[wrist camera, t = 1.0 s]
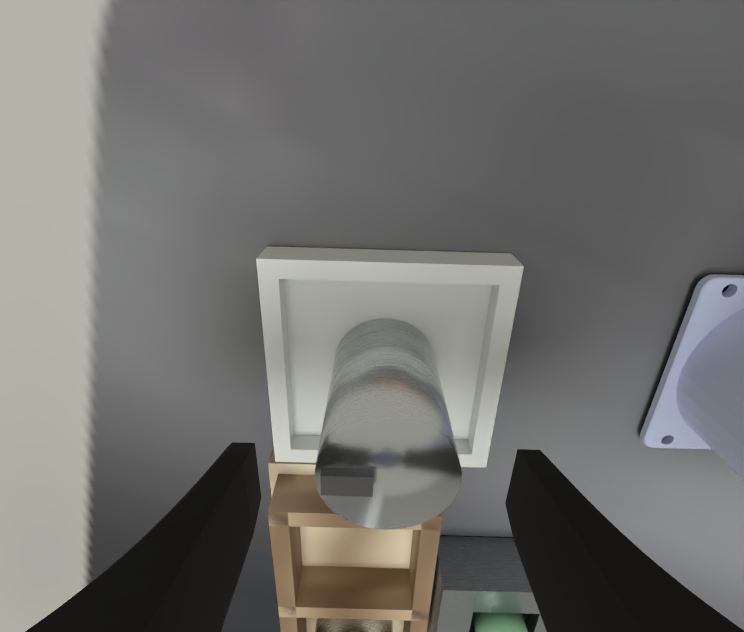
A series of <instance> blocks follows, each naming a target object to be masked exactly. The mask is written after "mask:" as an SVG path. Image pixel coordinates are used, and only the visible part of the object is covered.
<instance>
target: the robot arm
mask: <svg viewBox="0 0 744 632" xmlns="http://www.w3.org/2000/svg"><path fill="white" fill-rule="evenodd" d="M727 285H729V287H728V289H727V290H726V291H725V292H723V293H722V290H723V289H724V287H726V286H727ZM665 436H666V437H665ZM663 437H664V438H663ZM640 439H641V441H642V442H643V443H644V444H645V445H646V446H647V447H651V448H681V449H712V450H713V451H714V452H715V453H716V454H717V455H718V456H719V457H720V458H722V459H723V460H724V461H725V462H726V463H727V464H728V465H729V466H730V467H731V468H732V469H733V470H734V471H735V472H736V473H737V474H738V475H739V476H740V477H741V478H742V479H743V480H744V275H720V274H713V275H708V276H706V277H704V278H702V279H701V280H700V281H699V282H698V284H697V285H696V287H695V290H694V293H693V295H692V298H691V301H690V303H689V306H688V308H687V311H686V314H685V316H684V319H683V322H682V324H681V327H680V330H679V332H678V335H677V338H676V340H675V343H674V346H673V348H672V351H671V354H670V356H669V359H668V361H667V364H666V367H665V369H664V372H663V375H662V377H661V380H660V383H659V385H658V388H657V391H656V393H655V396H654V399H653V401H652V404H651V407H650V409H649V412H648V414H647V417H646V420H645V422H644V425H643V428H642V430H641V433H640ZM260 500H261V492H260V484H259V475H258V467H257V458H256V450H255V443H231V444H230V445H229V446H228V447H227V448H226V450H225V451H224V452H223V453H222V454H221V455H220V457H219V458H218V459H217V460H216V461H215V462H214V464H213V465H212V466H211V467H210V468H209V469H208V470H207V472H206V473H205V474H204V475H203V476H202V477H201V478H200V480H199V481H198V482H197V483H196V484H195V485H194V486H193V487H192V488H191V489H190V490H189V491H188V493H187V494H186V495H185V496H184V497H183V498H182V499H181V500H180V501H179V502H178V503H177V504H176V505H175V506H174V507H173V508H172V510H171V511H170V512H169V513H167V514H166V515H165V516H164V517H163V518H162V519H161V520H160V521H159V522H158V523H157V524H156V525H155V526H154V527H153V528H152V529H151V530H150V531H149V532H148V533H147V534H146V535H145V536H144V537H143V538H142V539H141V540H140V541H139V542H138V543H136V544H135V545H134V546H133V547H132V548H131V549H130V550H129V551H128V552H127V553H125V554H124V555H123V556H122V557H121V558H120V559H119V560H117V561H116V562H115V563H114V564H113V565H112V566H110V567H109V568H108V569H107V570H106V571H105V572H103V573H102V574H101V575H100V576H98V577H97V578H96V579H95V580H93V581H92V582H91V583H90V584H88V585H87V586H86V587H85V588H83V589H82V590H81V591H80V592H78V593H77V594H76V595H75V596H74V597H72V598H71V599H70V600H68V601H67V602H66V603H64V604H63V605H62V606H60V607H59V608H58V609H56V610H55V611H54V612H52V613H51V614H50V615H48V616H47V617H45V618H44V619H43V620H41V621H40V622H38V623H37V624H36V625H34V626H33V627H31V628H30V629H28V630H27V631H26V632H221V630H222V626H223V623H224V620H225V617H226V614H227V611H228V608H229V605H230V602H231V599H232V596H233V594H234V591H235V588H236V585H237V582H238V579H239V576H240V573H241V570H242V567H243V564H244V561H245V558H246V555H247V552H248V549H249V546H250V543H251V540H252V537H253V533H254V528H255V524H256V519H257V515H258V510H259V505H260ZM506 508H507V512H508V517H509V521H510V525H511V530H512V534H513V538H514V542H515V545H516V547H517V550H518V553H519V556H520V559H521V562H522V565H523V567H524V570H525V573H526V576H527V579H528V581H529V584H530V587H531V590H532V592H533V595H534V598H535V601H536V604H537V606H538V609H539V612H540V615H541V617H542V620H543V623H544V626H545V629H546V631H547V632H744V630H742V629H741V628H739V627H738V626H736V625H735V624H734V623H732V622H731V621H730V620H728V619H727V618H725V617H724V616H723V615H721V614H720V613H719V612H717V611H716V610H715V609H713V608H712V607H710V606H709V605H708V604H706V603H705V602H704V601H702V600H701V599H700V598H698V597H697V596H696V595H695V594H693V593H692V592H691V591H689V590H688V589H687V588H685V587H684V586H683V585H682V584H681V583H679V582H678V581H677V580H676V579H674V578H673V577H672V576H671V575H669V574H668V573H667V572H666V571H665V570H663V569H662V568H661V567H660V566H658V565H657V564H656V563H655V562H654V561H652V560H651V559H650V558H649V557H648V556H647V555H646V554H644V553H643V552H642V551H641V550H640V549H639V548H638V547H637V546H635V545H634V544H633V543H632V542H631V541H630V540H629V539H628V538H627V537H626V536H624V535H623V534H622V533H621V532H620V531H619V530H618V529H617V528H616V527H615V526H614V525H613V524H612V523H611V522H609V521H608V520H607V519H606V518H605V517H604V516H603V515H602V514H601V513H600V512H599V511H598V510H597V509H596V508H595V507H594V506H593V505H592V504H591V503H590V502H589V501H588V500H587V499H586V498H585V497H584V496H583V495H582V494H581V493H580V492H579V491H578V490H577V489H576V488H575V486H574V485H573V484H572V483H571V482H570V481H569V480H568V479H567V478H566V477H565V476H564V475H563V474H562V473H561V472H560V471H559V470H558V469H557V467H556V466H555V465H554V464H553V463H552V462H551V461H550V460H549V459H548V458H547V457H546V456H545V455H544V454H543V453H542V452H541V451H540V450H519V449H518V450H517V454H516V459H515V463H514V468H513V472H512V477H511V481H510V486H509V490H508V494H507V499H506Z"/></svg>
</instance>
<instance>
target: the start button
mask: <svg viewBox="0 0 744 632" xmlns="http://www.w3.org/2000/svg"><path fill="white" fill-rule="evenodd" d="M472 617H473V622H474V627H475V632H528V631H527V628H526V624H525V621H524V618H523V614H522V613H488V612H473V615H472Z"/></svg>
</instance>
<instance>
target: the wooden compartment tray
mask: <svg viewBox="0 0 744 632" xmlns="http://www.w3.org/2000/svg"><path fill="white" fill-rule="evenodd" d="M315 466H316V463H304V462H275V454H274V446H273V449H272V453H271V456H270V459H269V462H268V467H269V476H270V486H271V496H272V498H271V502H270V505H269V509H268V519H269V528H270V537H271V546H272V555H273V564H274V573H275V582H276V591H277V600H278V609H279V618H280V627H281V632H315V629H316V621H317V618H332V619H369V620H392V623H393V632H427V625H428V617H429V610H430V603H431V596H432V589H433V581H434V574H435V567H436V560H437V553H438V545H439V538H440V531H441V524H442V512H441V513H440V514H439V515H437V516H436V517H434V518H432V519H430V520H429V521H426V522H424V523H422V524H419V525H416V526H412V527H408V528H403V529H392V530H383V529H373V528H367V527H363V526H360V525H357V524H354V523H351V522H349V521H347V520H345V519H343V518H342V517H340V516H339V515H337V514H336V513H334V512H333V511H332V510H331V509H330V508H329V507H328V506H327V505H326V504H325V503H324V501H323V500H322V498H321V497H320V495H319V493H318V491H317V487H316V484H315Z"/></svg>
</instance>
